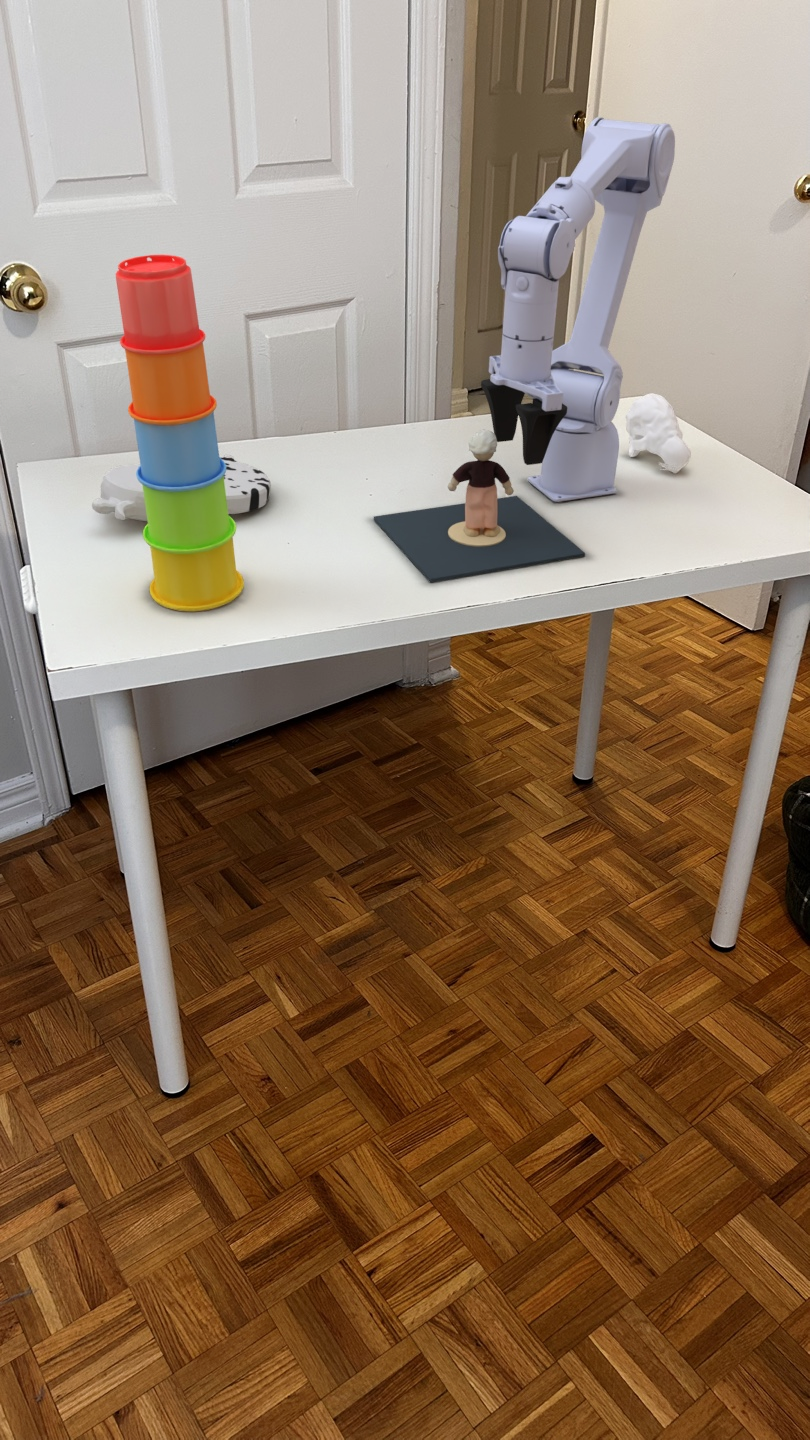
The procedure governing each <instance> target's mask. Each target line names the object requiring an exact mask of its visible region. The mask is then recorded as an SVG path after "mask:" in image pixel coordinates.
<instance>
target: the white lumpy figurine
mask: <svg viewBox="0 0 810 1440" xmlns="http://www.w3.org/2000/svg"><path fill="white" fill-rule="evenodd" d="M625 425H626V426H625V429H626V432H627V433H628V435H629V436H628V444H629V450H628V456H629V457H630V458H635V457H637V456H638V455H639V453H640V452H641V451H646V450H647V451H648V452H649V453H651V454H654V455H657V456H659V457H660V458H661V459H662V461H663V462H662V461H659V463H658V466H660V467H662V468H661V471H669V472H672V473H673V474H678V473H679V472H680V471H681V470H682V468H684V467H685V466H686V465H687V464H688V463H689V462H690V459H691V455H692V452H691V448H690V447H689V446H688V444H687V443H686V442H685V440H683V432H682V430H681V428H680V425H679V421H678V418H677V416H676V412H675V411H674V407H673V406H672V404H670V402H669V401H668V400H667V399H666V398H665V397H664V396H662V395H661V394H657V393H653V392H650V393H647V394H645V395H643V396H640V397H638V398H636V400H635V401H633V403H632V405H631V406H630V408H629V411H628V412H626V414H625Z"/></svg>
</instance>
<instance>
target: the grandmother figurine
mask: <svg viewBox="0 0 810 1440" xmlns="http://www.w3.org/2000/svg"><path fill="white" fill-rule="evenodd" d="M468 441H469V442H468V451H470V452H471V453H472V455H473V457H474V458H475V459H476V460H471V461H467V462H464V463H463V464H462V465H460V466H459V467H458V468H457V469H456V470H455V471H454V472H453V473H452V477H451V480H450V482H449V483H448V485H447V489H448V491H449V492H455V491H456V489H457V487H458V486H459V485H460V483H463V482H467V481H468V483H467V486H466V491H465V502H464V503H465V525H466V526H465V527H464V529H463V530H464V532H465V534H466V535H467V536H470V537H476V536H478V535H479V531H480V529H479V528H484V527H485V528H484V535H485V536H488V537H495V536H496V535H497V534H498V533H499V532H500V528H499V526H498V525H497V499H498V487H497V484H496V480H497V481H498V482H499V483H500V484H501V485H502V488H503V489H504V493H505V495H506V496H512V495H513V494H514V492H515V490H514V488H513V487H512V482H511V479H510V476H509V473H508V472H507V471H506V470H505V468H504V467H503V466H502V465H501V464H500V463H498V462H497V461H494V460H491V459H492V458H493V456H494V454H495V453H496V452H497V447H498V442H497V438H496V436H495V434H494V431H492V430H489V429H481V430H479V431H475V432H474V434H473V435H472V436H471V438H470V439H469V440H468Z"/></svg>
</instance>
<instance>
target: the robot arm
mask: <svg viewBox="0 0 810 1440" xmlns="http://www.w3.org/2000/svg"><path fill="white" fill-rule="evenodd" d="M675 148H676V136H675V131H674V130H673V128H672V126H671V124H669V123H667V122H664V123H661V124H660V123H652V122H639V121H629V120H628V121H627V120H617V119H608V118H607V119H606V118H604V117H601V116H597V117H595V118H594V119H593V120H592V121H591V122H590V124H588V126H587V128H586V130H585V132H584V134H583V138H582V144H581V152H580V155H581V156H580V160H579V162H578V163H577V165H576V167H574V170H573V171H572V173H571V174H570V176H559V177H558V178H557V179H556V180H555V181H554V182H553V183H551V185H550V186H549V188H548V189H546V191H545V192H544V194H543V195H542V196H541V197H540V198H539V200H538V201H537V202H536V203H535V204H534V205H533V207H532V208H531V209H530V210H529V211H528V212H527V214H526V215H517V216H515V217H514V218H513V219H511V220H509V221H507V222H506V224H505V226H504V227H503V229H502V232H501V236H500V240H499V246H498V247H497V261H498V265H499V268H500V273H501V276H500V277H501V278H500V285H501V289H502V290H504V291H505V292H504V293H505V294H504V305H503V307H504V308H503V320H502V336H501V349H500V351H501V352H500V354H499V355H491V356H489V358H488V359H489V361H488V373H489V374H490V377H489V378H488V379H482V380H481V381H480V387H481V389H482V391H483V393H484V396H485V398H486V401H487V404H488V408H489V412H490V417H491V423H492V428H493V433H494V434H495V436H496V438H497V443H503V442H511V441H513V440H514V438H515V435H516V432H517V425H518V420H519V423H520V427H521V434H522V458H523V463H524V464H525V465H526V466H531V465H538V464H539V465H540V464H541V466H540V474H539V475H533V476H528V477H527V482H529V483H530V484H531V485H532V486H533V487H535V488H536V489H537V490H539V492H541V493H542V494H544V495H545V497H547V498H549V499H550V500H551V501H552V502H554V503H557V502H558V503H559V502H560V503H561V502H566V501H573V500H579V499H587V498H593V497H599V496H606V495H612V494H616V493H617V488H615V482H616V481H615V480H616V473H617V466H618V458H619V451H620V438H619V431H618V429H617V426H616V425H615V424H614V423H613V420H614V418H615V416H616V414H617V411H618V409H619V405H620V400H621V399H620V398H621V387H622V383H623V378H624V374H623V373H624V372H623V369H622V366H621V364H619V362H618V361H617V359H616V358H615V357H614V356H613V354H612V353H611V352H610V351H609V346H610V343H611V339H612V336H613V332H614V328H615V325H616V322H617V318H618V314H619V310H620V307H621V304H622V300H623V296H624V292H625V289H626V285H627V282H628V278H629V275H630V271H631V268H632V264H633V260H634V257H635V253H636V249H637V245H638V243H639V239H640V236H641V232H642V229H643V226H644V222H645V221H646V217H647V214H648V212H649V211H652V210H654V209H656V208H658V207H660V206H661V204H662V201H663V197H664V195H665V193H666V190H667V186H668V183H669V180H670V176H671V172H672V168H673V165H674V162H675V154H676V153H675V152H676V151H675V150H676V149H675ZM596 202H597V203H598V204H600V205H601V206H602V207H603V210H604V214H603V218H602V222H601V226H600V230H599V233H598V237H597V240H596V243H595V248H594V251H593V255H592V259H591V263H590V265H589V269H588V273H587V278H586V281H585V285H584V288H583V293H582V296H581V299H580V303H579V305H578V310H577V314H576V317H575V322H574V325H573V329H572V332H571V336H570V340H569V341H567V342H566V343H563V344H562V345H560V346H558V347H557V348H555V349H553V348H554V339H555V328H556V316H557V306H558V297H559V287H560V286H559V285H560V278H562V277H563V275H565V274H566V272H567V269H568V267H569V264H570V261H571V257H572V254H573V252H574V251H575V248H576V240H577V238H578V237H579V235H580V234H581V233H582V232H583V231H584V229H585V228H586V227H587V226H588V224H589V223H590V222H591V220H592V219H593V217H594V216H595V213H596V211H595V210H596ZM525 395H527V396H528V397H530V398H531V399H532V402H527V403H523V400H524V398H525Z"/></svg>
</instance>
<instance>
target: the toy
mask: <svg viewBox="0 0 810 1440" xmlns="http://www.w3.org/2000/svg"><path fill="white" fill-rule="evenodd" d="M220 458H221V459H222V460H223V461H224V462H225V464H226V472H225V474H224V483H225V492H226V500H227V508H228V515H235V514H236V515H237V514H242V513H247V512H253V511H255V510H258V509H260V508H262V507H264V506H265V505H266V504H268V501H269V499H270V496H271V486H272V485H271V481H270V479H269V477H268V475H267V474H266V473H265V472H263V471H262V470H261V469H259V468H257V467H255V466H253V465H250V464H249V463H248V464H247V463H244V462H241V461H237V460H235V457H234V456H233V455H231V454H225V455H223V457H220ZM139 466H140V463H129V464H123V465H118V466H115V467H111V468H110V469H108V470H107V471H106V472H105V474H104V475H103V477H102V480H101V484H100V497H98V498H96V499H94V500H93V501H92V502H91V508H92V510H94V511H95V513H98V514H101V515H108V514H111V513H114V517H115V518H116V520H120V521H124V520H126V519H131V520H134V521H141V522H148V521H147V514H146V506H145V499H144V492H143V486H142V484H141V483H140V482H139V481H138V479H137V476H136V472H137V469H138V468H139Z"/></svg>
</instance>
